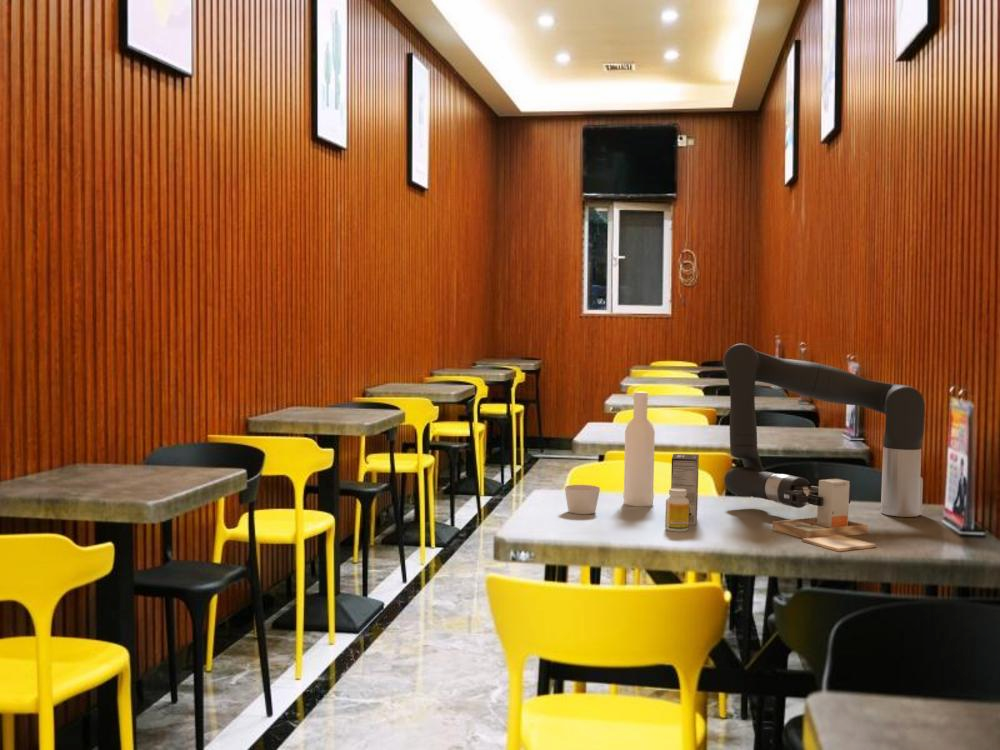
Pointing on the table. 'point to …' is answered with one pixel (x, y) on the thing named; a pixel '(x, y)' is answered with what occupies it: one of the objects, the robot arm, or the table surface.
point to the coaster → (838, 542)
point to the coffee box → (687, 480)
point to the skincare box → (833, 502)
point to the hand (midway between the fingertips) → (835, 500)
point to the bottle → (639, 456)
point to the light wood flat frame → (817, 528)
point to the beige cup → (582, 498)
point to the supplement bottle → (677, 510)
